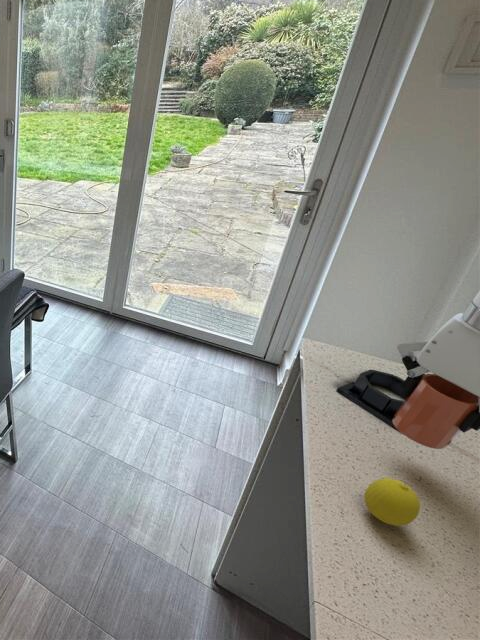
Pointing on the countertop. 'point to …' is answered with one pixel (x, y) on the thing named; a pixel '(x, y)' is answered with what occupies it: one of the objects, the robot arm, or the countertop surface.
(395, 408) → the cup holder
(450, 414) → the cup
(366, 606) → the countertop surface
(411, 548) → the countertop surface
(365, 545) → the countertop surface
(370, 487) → the lemon
